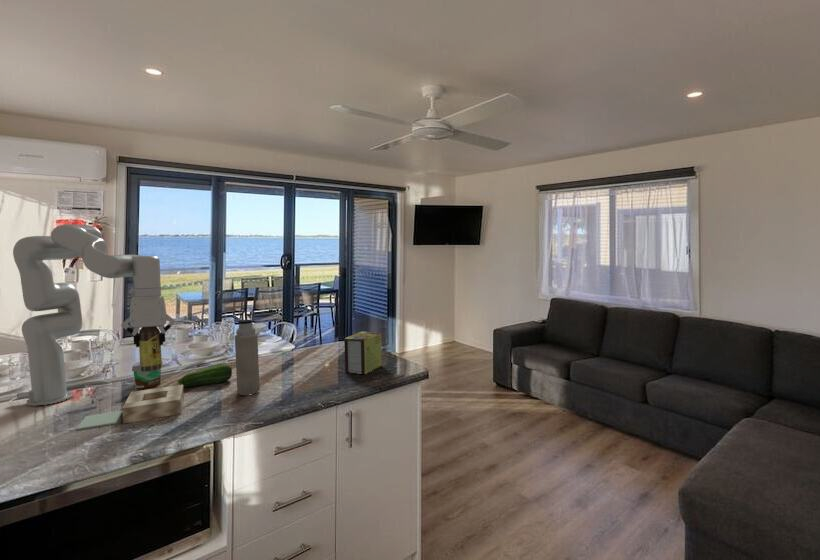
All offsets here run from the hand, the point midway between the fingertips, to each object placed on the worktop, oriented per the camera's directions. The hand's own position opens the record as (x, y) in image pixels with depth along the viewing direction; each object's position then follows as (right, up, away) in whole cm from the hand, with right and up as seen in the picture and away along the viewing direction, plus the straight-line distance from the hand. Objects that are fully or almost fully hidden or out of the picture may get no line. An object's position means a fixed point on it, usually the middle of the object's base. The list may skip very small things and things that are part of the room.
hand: (150, 344), depth 137 cm
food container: (-15, -21, +25) cm, 36 cm away
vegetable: (+5, -21, +27) cm, 35 cm away
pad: (-12, -24, -6) cm, 27 cm away
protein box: (+67, -19, +45) cm, 83 cm away
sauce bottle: (0, -9, +1) cm, 9 cm away
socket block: (+1, -23, +2) cm, 23 cm away
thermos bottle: (+26, -21, +18) cm, 38 cm away
